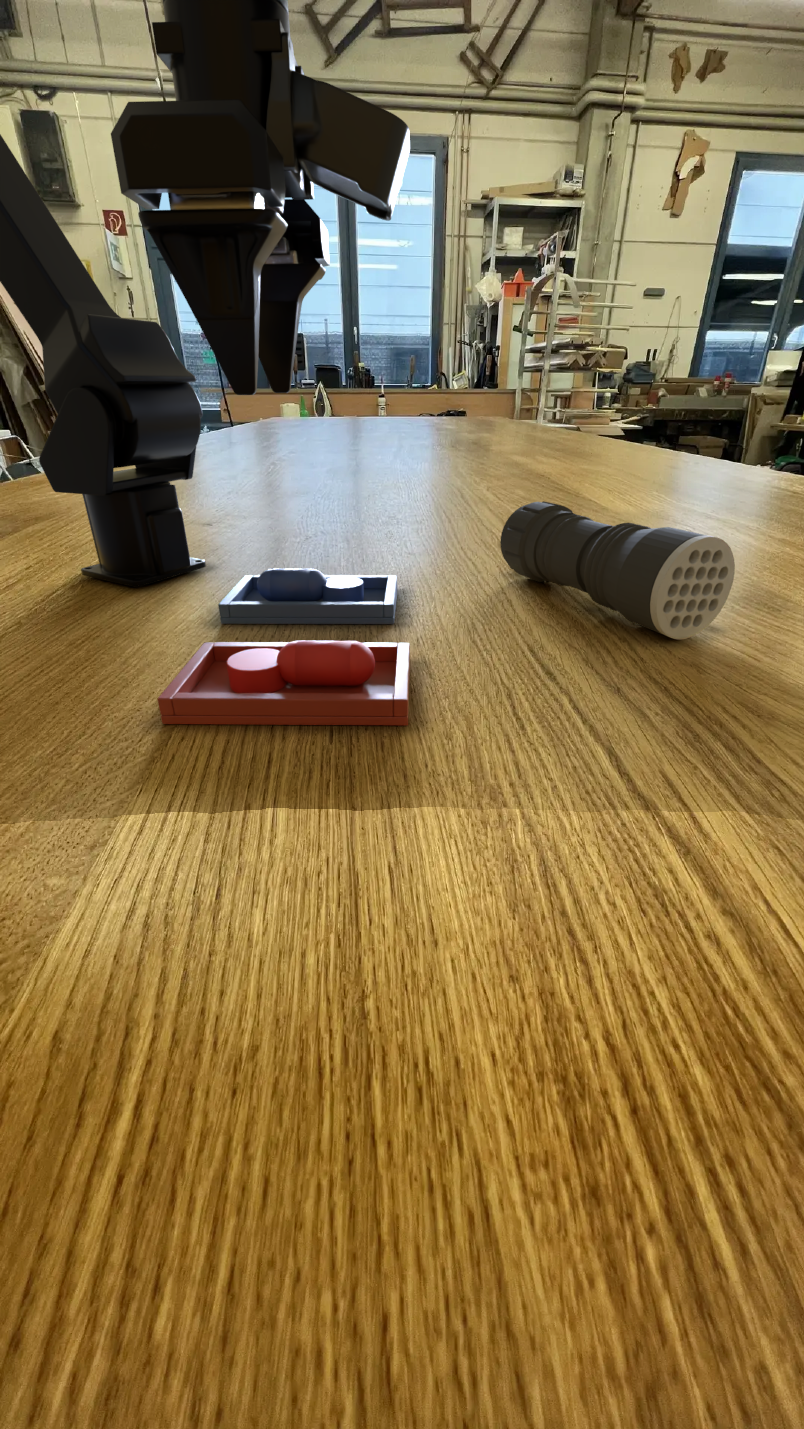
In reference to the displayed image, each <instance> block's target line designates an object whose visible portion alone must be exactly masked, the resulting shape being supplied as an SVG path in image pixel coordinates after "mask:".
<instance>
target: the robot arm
mask: <svg viewBox="0 0 804 1429" xmlns="http://www.w3.org/2000/svg"><path fill="white" fill-rule="evenodd" d="M161 1H162V6H163V15H164V16H163V17H164V21H153V22H151V26H152V33H153V34H152V35H153V40H154V48H155V52H156V53H155V54H156V55H157V57H158V58H159V59H160V60H161V62H162V63H163V64H164V66H165V67H166V68H167V69H168V70H169V71H170V73H172V74H171V75H172V82H173V89H174V96H175V100H149V101H148V100H145V101H143V100H142V101H128V102H127V103H126V105H125V106H124V109H123V110H122V112H121V114H120V116H119V117H118V119H117V121H116V123H115V125H114V127H113V128H112V131H110V139H111V143H112V150H113V155H114V161H115V166H116V173H117V178H118V183H119V190H120V194H121V195H123V196H125V197H126V198H128V199H129V200H130V201H132V202H134V203H136V204H137V205H138V206H140V207H142V208H144V209H145V210H140V211H138V214H137V215H138V219H139V222H140V224H141V226H142V228H144V229H145V230H146V231H147V233H148V234H149V236H150V237H151V239H152V241H153V242H154V244H155V246H156V248H157V250H158V251H159V254H160V255H161V257H162V259H163V261H164V262H165V264H166V266H167V269H168V270H169V272H170V273H171V275H172V277H173V279H174V281H175V283H176V284H177V286H178V288H179V290H180V292H181V293H182V295H183V298H184V299H185V301H186V303H187V304H188V307H189V308H190V310H191V312H192V314H193V316H194V319H195V320H196V322H197V323H198V325H199V327H200V330H201V331H202V333H203V335H204V338H205V339H206V341H207V343H208V345H209V347H210V349H211V351H212V353H213V354H214V356H215V358H216V360H217V362H218V364H219V367H220V368H221V370H222V372H223V374H224V376H225V378H226V380H227V382H228V384H229V385H230V387H231V390H232V391H233V393H234V394H235V395H237V396H253V395H255V394H256V393H257V391H258V374H259V373H258V372H259V361H260V364H261V366H262V369H263V372H264V374H265V376H266V379H267V382H268V383H269V386H270V388H271V390H272V392H273V393H275V394H288V393H290V392H291V389H292V380H293V372H294V365H295V358H296V351H297V350H296V348H297V342H298V335H299V326H300V320H301V311H302V306H303V301H304V299H305V297H306V296H307V294H308V293H309V292H310V291H311V290H312V289H313V288H314V286H315V285H316V284H317V283H318V281H320V280H323V278H324V276H325V274H326V271H327V269H326V268H325V267H330V264H331V262H330V247H329V246H330V245H329V242H330V241H329V230H328V229H327V227H326V225H325V224H324V222H323V220H322V219H321V217H320V216H319V215H318V213H317V212H316V211H315V210H314V209H313V208H312V207H311V206H310V204H309V203H308V202H307V201H306V200H315V193H314V192H315V190H314V189H315V188H314V185H315V186H317V187H318V188H321V189H323V190H324V191H327V192H329V193H331V194H334V195H336V196H338V197H340V198H343V199H344V200H346V201H347V200H348V201H349V202H352V203H354V204H356V205H358V206H360V207H363V208H365V210H366V213H367V214H368V215H370V216H372V217H374V218H377V219H379V220H382V221H387V222H389V221H391V220H392V217H393V215H394V210H395V206H396V202H397V200H398V196H399V192H400V191H401V189H402V187H403V178H404V175H405V170H406V167H407V163H408V158H409V155H410V151H411V140H410V139H411V138H410V128H409V126H408V124H407V123H406V122H405V121H404V120H403V119H402V118H400V116H397V115H396V114H394V113H393V112H391V111H388V110H386V109H385V108H382V107H380V106H378V105H376V104H374V103H372V102H370V101H367V100H365V99H363V98H361V97H358V96H356V95H355V94H352V93H350V92H348V91H346V90H344V89H341V88H339V87H337V86H335V85H333V84H331V83H328V82H326V81H323V80H319V79H315V78H312V77H310V76H308V75H305V72H304V69H303V67H302V65H298V62H297V59H296V57H295V55H294V54H295V53H294V45H293V44H294V43H293V40H292V38H291V29H290V15H289V14H290V12H289V0H161ZM163 194H167V197H168V202H169V209H160V206H161V201H162V195H163ZM0 284H1V285H2V287H3V288H4V289H5V291H6V292H7V295H9V297H10V299H11V300H12V302H13V303H14V304H15V306H16V308H17V309H18V310H19V313H20V314H21V315H22V316H23V318H24V319H25V321H26V322H27V324H28V325H29V327H30V329H31V330H32V332H33V333H34V335H35V336H36V337H37V339H38V341H39V343H40V345H41V348H42V365H43V366H42V367H43V379H44V380H43V381H44V390H45V393H46V395H47V397H48V399H49V401H50V402H51V404H52V406H53V408H54V410H55V412H56V414H57V416H56V418H55V420H54V422H53V425H52V427H51V430H50V431H49V434H48V436H47V439H46V441H45V443H44V446H43V448H42V450H41V453H40V455H39V456H38V462H39V465H40V467H41V469H42V471H43V472H44V474H45V477H46V478H47V481H48V483H49V485H50V486H51V488H52V490H53V492H54V493H60V494H63V493H64V494H73V495H74V494H76V495H81V496H82V499H83V503H84V507H85V511H86V515H87V520H88V523H89V527H90V531H91V535H92V539H93V543H94V544H93V545H94V548H95V551H96V556H97V559H98V563H95V564H93V565H89V566H84V567H81V568H80V571H81V575H82V576H83V577H84V576H85V577H89V578H93V579H98V580H102V581H106V582H110V583H111V582H112V583H115V584H120V585H124V586H129V587H133V588H134V587H135V588H137V587H138V588H139V587H144V586H147V585H151V584H154V583H157V582H160V581H163V580H166V579H170V578H173V577H177V576H180V575H183V574H187V573H189V572H193V571H197V570H199V569H203V568H206V567H207V564H206V560H205V559H200V558H195V557H191V556H190V549H189V544H188V538H187V532H186V526H185V522H184V515H183V511H182V509H181V508H180V504H179V499H178V493H177V488H176V485H175V484H171V482H175V481H180V480H181V481H188V480H192V479H193V477H194V469H195V461H196V453H197V446H198V443H199V439H200V436H201V433H202V432H201V431H202V426H201V425H202V423H201V421H202V420H201V419H202V418H203V416H204V412H203V409H202V404H201V401H200V400H199V398H198V395H197V393H196V391H195V389H194V388H193V386H192V384H190V383H196V382H197V377H196V376H195V375H194V374H193V373H192V372H191V371H190V370H188V368H186V366H185V365H184V364H183V363H182V361H181V360H180V359H179V356H178V355H177V353H176V351H175V349H174V346H173V345H172V342H171V340H170V337H169V336H168V334H167V332H165V331H164V329H163V328H162V327H161V325H160V324H159V323H158V322H157V321H151V320H144V319H136V318H134V319H132V318H126V317H125V318H124V317H121V316H120V315H119V314H117V313H116V311H115V310H114V309H113V308H112V307H111V305H109V303H108V301H107V300H106V298H105V297H104V295H103V293H102V292H101V290H100V289H99V287H98V286H97V284H96V282H95V281H94V279H93V278H92V276H91V275H90V273H89V271H88V270H87V268H86V267H85V265H84V264H83V262H82V260H81V259H80V257H79V255H78V254H77V252H76V250H75V248H74V247H73V246H72V245H71V243H70V242H69V240H68V238H67V236H66V235H65V233H64V232H63V230H62V229H61V227H60V225H59V224H58V222H57V220H56V219H55V218H54V215H52V213H51V212H50V210H49V208H48V207H47V205H46V203H45V202H44V200H43V199H42V197H41V196H40V194H39V193H38V191H37V190H36V188H35V186H34V185H33V184H32V182H31V180H30V178H29V177H28V175H27V174H26V172H25V171H24V169H23V168H22V165H21V164H20V162H19V161H18V160H17V158H16V157H15V155H14V153H13V151H12V150H11V148H10V147H9V145H8V144H7V143H6V140H5V139H4V138H3V136H2V134H1V133H0ZM126 467H134V468H126ZM117 468H118V469H121V468H126V469H121V470H114V469H117Z"/></svg>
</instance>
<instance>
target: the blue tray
mask: <svg viewBox="0 0 804 1429" xmlns="http://www.w3.org/2000/svg"><path fill="white" fill-rule="evenodd" d="M260 575H261V574H254V575H253V574H244V576H243V577H241V579H240V580H239V581H238V582H237V583H236V584H235V586H233V588H231V589H230V591H229V592H228V593H227V594H226V595H225V596H224V597H223V599H222V600H220V602H219V603H218V605H217V606H218V613H219V618H220V624H221V625H395V619H396V618H395V616H396V609H397V599H398V598H397V597H398V575H396V574H380V575H379V574H324V575H325V577H326V579H329V578H333V577H355V578H359V579H361V580H362V581H363V588H364V601H363V602H322V599H320V600H318V601H314V602H273V601H268V600H266V599H264V598H263V597H262V596H261V595H260V593H259V591H258V588H257V580H258V578H259V576H260Z"/></svg>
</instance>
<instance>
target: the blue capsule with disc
mask: <svg viewBox="0 0 804 1429" xmlns="http://www.w3.org/2000/svg"><path fill="white" fill-rule="evenodd" d="M259 575H260V576H259V578H258V580H257V588H258V591H259V593H260V595H261V596H262V597H263V598H264V599H266V600H268V601H273V602H314V601H318V600H320V599H322V602H363V601H364V588H363V581H362V580H361V579H359V578H355V577H333V578H329V579H326V577H325V575H326V574H324V573H323V572H322V571H320V570H318V569H317V568H316V569H315V568H268V569H266V570H264V571H262V573H260V574H259Z"/></svg>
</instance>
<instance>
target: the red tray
mask: <svg viewBox="0 0 804 1429" xmlns="http://www.w3.org/2000/svg"><path fill="white" fill-rule="evenodd" d="M290 642H291V641H290ZM290 642H289V641H287V642H286V641H284V642H283V641H268V642H267V641H260V642H259V641H229V642H228V641H216V642H214V641H210V642H209V641H205V642H203V643H202V644H201V646H199V648H198V649H197V650H196V651H195V653H194V654H193V655H192V656H191V657H190V659H189V660H188V661H187V662H186V663H185V665H184V666H183V667H182V669H181V670H180V671H179V672H178V673H177V675H175V677H173V679H172V680H171V682H169V684H168V685H167V686H166V687H165V689H164V690H163V691H162V692H161V693H160V695H159V696H158V697H157V704H158V709H159V713H160V718H161V723H162V724H163V725H263V726H264V725H266V726H267V725H270V726H271V725H273V726H275V725H277V726H278V725H280V726H281V725H282V726H283V725H286V726H288V725H289V726H290V725H291V726H292V725H293V726H294V725H295V726H297V725H298V726H408V725H409V710H410V709H409V707H410V706H409V705H410V677H411V676H410V674H411V644H410V642H362V643H363V644H365V645H366V646H367V647H368V648H369V649H370V650H371V651H372V653H373V655H374V659H375V668H374V671H373V674H372V675H371V677H370V678H369V679H368V680H367V681H366V682H364V683H362V684H360V685H356V686H301V685H293V684H290V683H287V684H286V686H285V687H283V688H282V689H280V690H278V691H276V692H273V693H236V692H234V691H233V690H232V689H231V687H230V682H229V676H228V669H227V660H228V658H229V657H231V656H232V655H234V654H236V653H238V652H241V651H244V650H249V649H257V648H268V649H275V650H278V651H280V650H281V649H282V647H284V646H285V645H286V644H288V643H290Z"/></svg>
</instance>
